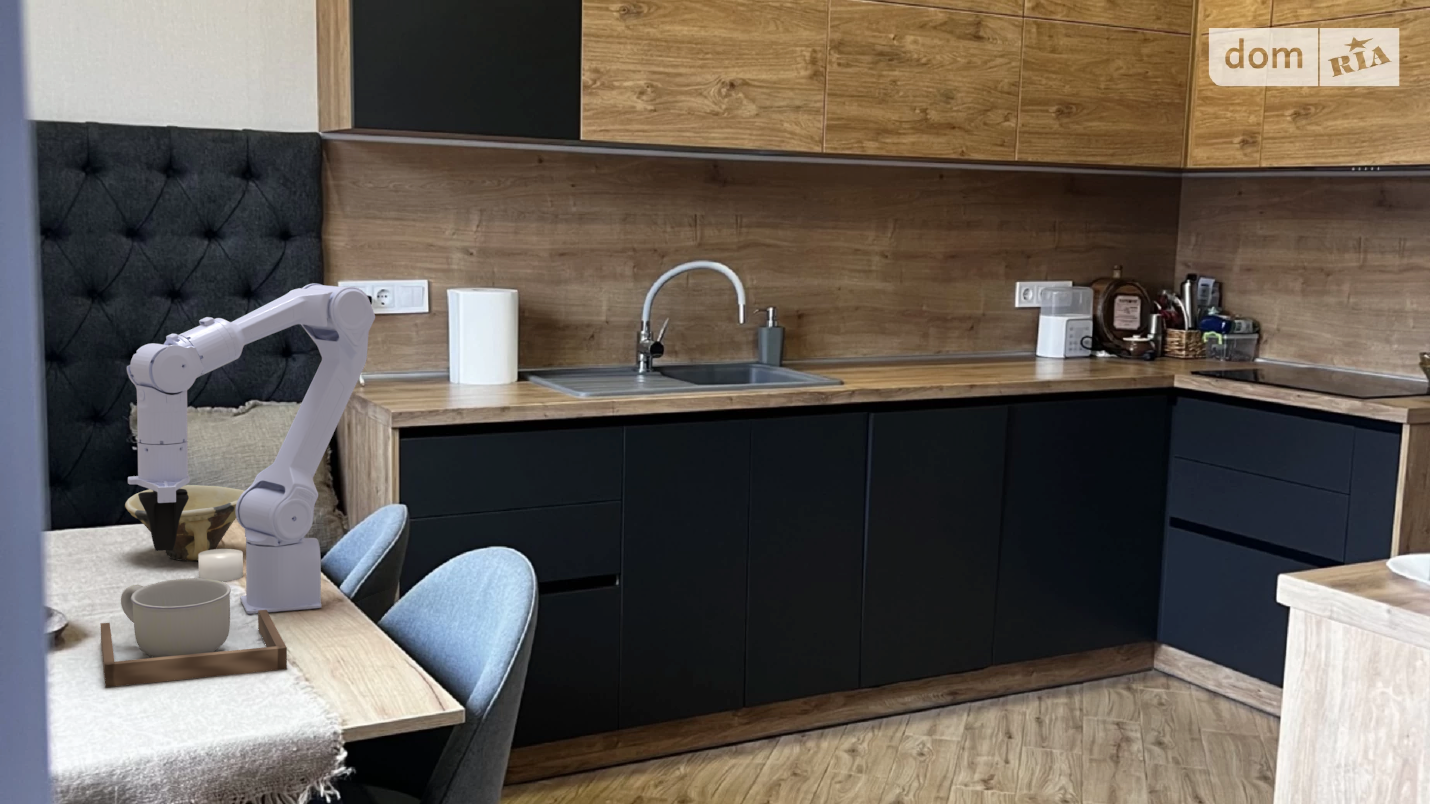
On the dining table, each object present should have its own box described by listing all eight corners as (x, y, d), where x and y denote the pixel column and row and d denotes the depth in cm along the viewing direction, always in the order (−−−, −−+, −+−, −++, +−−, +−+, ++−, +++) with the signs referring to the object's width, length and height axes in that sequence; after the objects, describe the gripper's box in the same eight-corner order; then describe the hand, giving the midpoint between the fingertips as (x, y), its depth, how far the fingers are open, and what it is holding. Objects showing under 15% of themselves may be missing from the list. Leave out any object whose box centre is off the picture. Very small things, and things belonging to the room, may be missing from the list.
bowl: (125, 547, 211) (124, 486, 210) (247, 540, 218) (247, 482, 217) (125, 573, 195) (124, 508, 194) (257, 566, 202) (257, 503, 201)
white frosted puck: (240, 571, 200) (240, 547, 199) (245, 580, 194) (245, 556, 194) (196, 574, 197) (196, 550, 196) (200, 584, 192) (200, 559, 191)
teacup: (250, 653, 161) (250, 587, 160) (172, 676, 152) (171, 607, 151) (174, 632, 168) (173, 569, 167) (95, 653, 159) (93, 586, 158)
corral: (266, 629, 171) (266, 609, 170) (286, 669, 155) (286, 647, 155) (100, 643, 162) (100, 623, 162) (105, 687, 147) (104, 665, 147)
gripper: (125, 434, 172) (126, 539, 174) (129, 451, 159) (131, 564, 161) (184, 432, 175) (185, 535, 177) (194, 449, 162) (195, 560, 164)
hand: (164, 549), depth 169 cm, fingers closed
